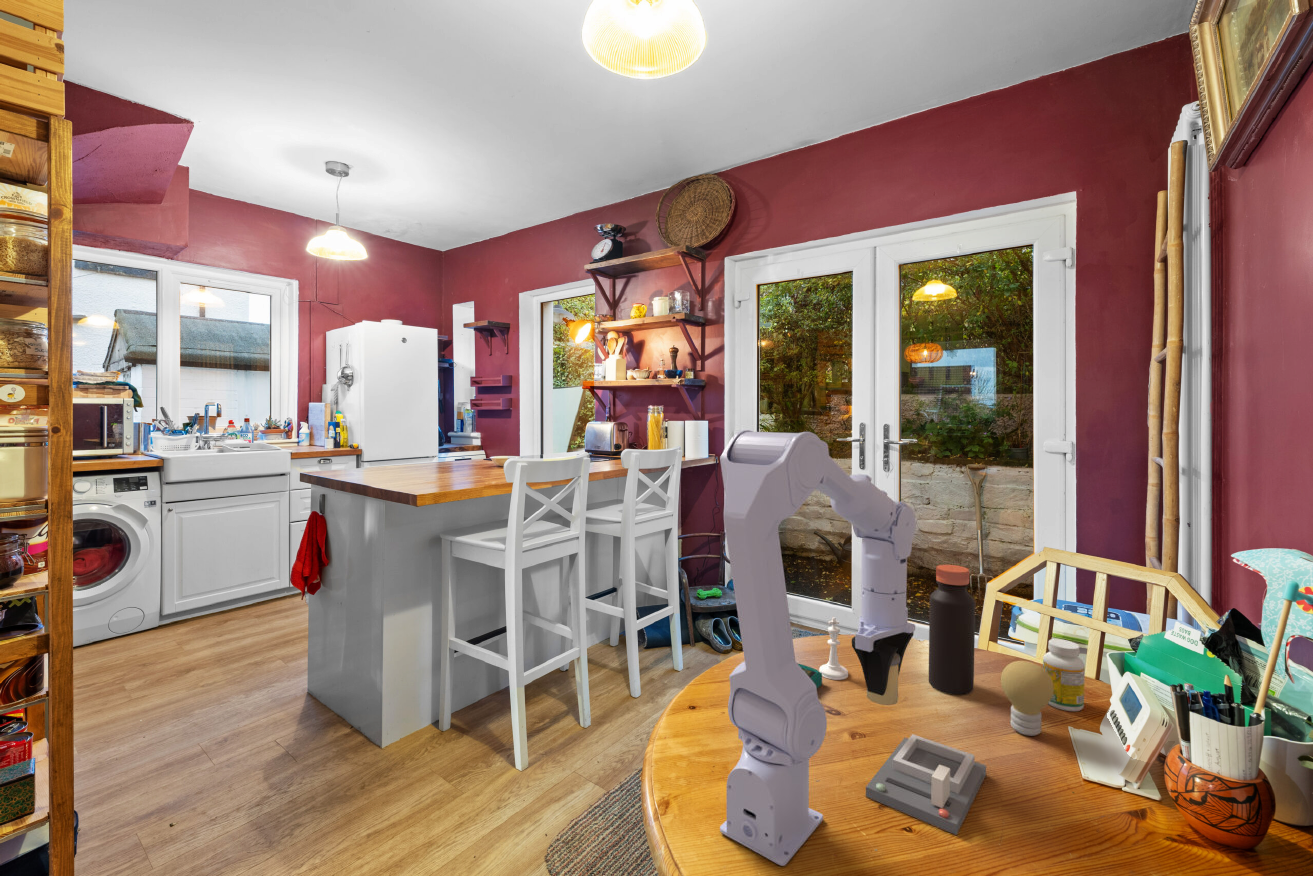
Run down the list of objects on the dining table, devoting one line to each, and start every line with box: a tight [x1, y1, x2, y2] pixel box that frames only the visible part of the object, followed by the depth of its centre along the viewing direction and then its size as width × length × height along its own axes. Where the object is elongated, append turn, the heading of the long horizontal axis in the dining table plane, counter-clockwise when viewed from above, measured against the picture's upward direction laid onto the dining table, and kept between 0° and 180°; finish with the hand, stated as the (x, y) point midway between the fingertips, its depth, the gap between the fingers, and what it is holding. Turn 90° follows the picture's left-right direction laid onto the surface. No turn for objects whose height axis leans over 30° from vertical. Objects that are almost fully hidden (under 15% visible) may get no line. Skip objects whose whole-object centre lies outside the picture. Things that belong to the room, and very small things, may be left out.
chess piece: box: [818, 616, 849, 681], centre depth 104 cm, size 5×5×10 cm
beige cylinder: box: [866, 653, 900, 706], centre depth 81 cm, size 4×4×6 cm
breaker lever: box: [931, 765, 950, 808], centre depth 68 cm, size 3×1×3 cm, turn 139°
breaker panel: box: [865, 733, 987, 836], centre depth 73 cm, size 14×10×2 cm
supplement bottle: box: [1042, 638, 1086, 712], centre depth 93 cm, size 5×5×10 cm
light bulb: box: [1000, 660, 1053, 737], centre depth 85 cm, size 6×6×10 cm
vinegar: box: [928, 564, 976, 696], centre depth 98 cm, size 7×7×20 cm
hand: (882, 686), depth 81 cm, fingers closed on beige cylinder, 4 cm apart
